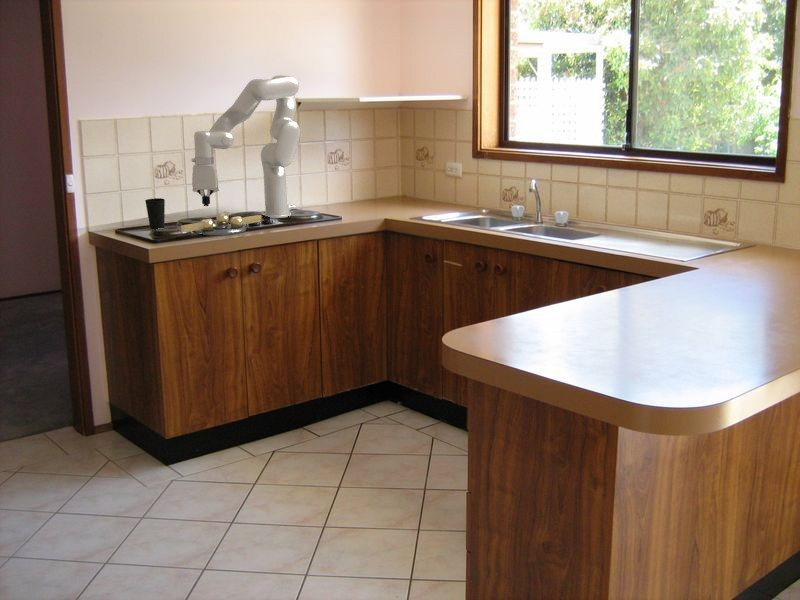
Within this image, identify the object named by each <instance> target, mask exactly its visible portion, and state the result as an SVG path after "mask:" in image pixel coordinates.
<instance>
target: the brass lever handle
mask: <svg viewBox="0 0 800 600" xmlns="http://www.w3.org/2000/svg"><path fill="white" fill-rule="evenodd" d="M229 218H230V219H229V220H230V223H231V228H241V227H243V225H248V224H249V225H250V224H255V223H260V222H261V223H262V222H263V221H262V214H256V215H251V216H250V215H249V216H243V217H242V216H240V215H238V216H232V217H229Z"/></svg>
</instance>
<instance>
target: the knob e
mask: <svg viewBox="0 0 800 600" xmlns="http://www.w3.org/2000/svg"><path fill="white" fill-rule="evenodd" d="M213 223H214V220H213V219H212V218H207V219H202V220H200V222H193V223H189V224H184V225H183V224H181V225H180V230H181V233H189V232H194V231H195V232H196V230H202V231H210V230H214V228H213Z"/></svg>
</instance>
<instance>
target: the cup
mask: <svg viewBox="0 0 800 600" xmlns="http://www.w3.org/2000/svg"><path fill="white" fill-rule="evenodd" d="M144 201H145V207H146V213H147V218H148V222H149V229H150V230H151V229H158V228H164V229H165V213H166V211H165V209H166V208H165V206H166V203H165V201H166V199H165V198H161V197H160V198H155V197H154V198H148V199H145V200H144Z"/></svg>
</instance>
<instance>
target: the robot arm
mask: <svg viewBox="0 0 800 600" xmlns="http://www.w3.org/2000/svg"><path fill="white" fill-rule="evenodd" d="M299 87H300V85H299V82H298V79H296V78H295V77H294V76H291V75H279V74H278V75H275V76H272V77H271V78H267V79H265V78H264V79H261V78H260V79H259V78H256V79H254V78H253V79H251V80H250V81H249V82H248V83H247V84H246V86H245V87H244V88H243V89H242V91H241V93H240V94H239V96H238V97H237V98H236V99H235V101H234V102H233V104H232V105H231V106H230V107H229V108H228V109H227V110H226V111H225V112H223V113H222V114H221V115H220V116H219V118H217V119H216V121H215V122H214V124H213V125H212V126H211V128H210V129H209V130H197V131H195V132H194V134H193V137H194V139H193V140H194V141H193V142H194V157H193V158H191V162H192V163H194V164H193V166H192V175H191V176H192V178H191V185H192V192H194V193H198V194H199V196H201V203H202V205H203V207H209V205H210V204H211V195H212V194H214V193H217V192H219V191H220V190H219V177H218V170H217V164H215V160H214V159H215V157H214V156H215V155H214V149H218V150H219V149H220V150H227V149H229V148H231V147H232V146H233V144H234V136H233V135H232V133H231V131H232V130H233V129H234V128H235V127H236V126H238V125H240V124H241V123H244V122H245V121H247V120H249V119H250V117H251V116H252V115H253V114H254V112H255V111H256V109H257V107H258V106H259V105H260V103H261V102H262V101H272V100H273V101H274V100H275V101H276V107H275V111H274V114H273V118H272V122H271V125H270V129H269V133H270V137H272V138H273V139H274V140H275V141H276V142H269V143H268V142H267V143H266V144H264V145H263V147H262V148H261V150H260V161H261V165H262V171H263V174H262V175H263V188H264V189H263V191H264V192H263V193H264V206H265V207H264V208H265V209H264V211H265V212H262V213H261V216H262V215H266V216H268V217H270V218H269V219H282V218H289V217H291V216H292V212H291V210H296V205H295V204H292V205H291V204H288V194H287V193H288V192H287V175H286V169H285V168H286V167H289V166H290V165H291V164H292V162H293V160H294V158H295V155H296V152H297V148H298V145H299V141H300V137H301V128H300V126H299V124H298V122H296V121H295V116H296V112H297V99H296V94H297V93H298V92H299V90H300V89H299ZM205 190H206V193H205ZM288 216H289V217H288Z"/></svg>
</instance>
